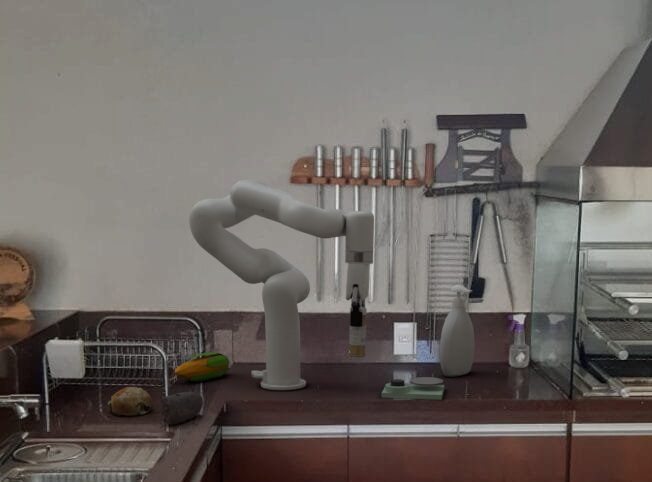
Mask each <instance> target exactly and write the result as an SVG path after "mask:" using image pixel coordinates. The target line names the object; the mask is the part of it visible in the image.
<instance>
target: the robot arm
mask: <svg viewBox="0 0 652 482" xmlns="http://www.w3.org/2000/svg"><path fill="white" fill-rule="evenodd" d="M253 216H258V217H261V218H263V219H267V220H270V221H273V222H276V223H279V224H281V225H283V226H285V227H289V228H290V229H292V230H294V231H298V232H301V233H303V234H306V235H310V236H313V237H316V238H320V239H331V238H332V239H334V238H340V237H341V238H342V237H345V245H344V246H345V247H344V248H345V249H344V250H345V251H344V254H345V255H344V257H345V258H344V262H345V264H347V269H346V270H347V271H346V287H345V300H346V301H350V307H351V312H350V311H349V327H350V326H352V327H362V315H363V312H361V310H362V307H365V308H366V299H367V298H368V296H369V288H370V287H369V286H370V265H373V264H374V247H375V246H374V243H375V239H374V238H375V215H374V214H373V212H371V211H367V210H344V209H338V208H328V209H324V208H321V207H318V206H315V205H311V204H308V203H305V202H302V201H300V200H298V199H297V198H295V195H293V194H292V193H291V192H288V191H285V190H281V189H278V188H275V187H272V186H269V185H268V184H267V183H266V182H265V181H262V180H259V179H241V180H239V181H237V182H235V183H234V184H233V185H232V187H231V189H230V192H229V194H228V195H226V196H224V197H221V198H205V199H201V200H199V201H197V202H196V203H195V204H194V205H193V206H192V208H191V210H190V212H189V220H188V221H189V222H188V223H189V229H190V233H191V234H192V236H193V238H194V240H195V241H196V243H197V244H198V245H199V246H200V248H202V249H203V250H204V251H205V252H207V253H208V254H209V255H210V256H212V257H213V258H214V259H216V260H217V261H218V262H219V263H221V264H222V265H223V266H224V267H226V269H228V270H229V271H230V272H232V273H233V274H234V275H235V276H237V277H238V278H239V279H240V280H242V281H243V282H245V283H247V284H250V285H256V284H260V283H262V284H263V285H262V290H261V297H262V298H261V299H262V305H263V311H264V320H265V323H264V328H265V329H264V330H265V369H262V370H251V375H250V376H251V378H253V379H261V382H260V387H261V388H262V389H266V390H270V391H294V390H299V389H304V388H305V387H306V386H307V381H306V380H305V379H303V378H301V321H300V314H299V313H300V312H299V307H298V305H299V304H300V303H303V302H304V301H305V300H306V299H307V298H308V297H309V295H310V291H311V284H310V281H309V279H308V277H307V276H306V274H304V273H303V272H302V271H301V270H300V269H298V268H297V266H295V265H293V264H292V263H291V262H289V261H288V260H286V259H285V258H284V257H283V256H281V255H280V254H279V253H278V252H276V251H274V250H272V249H269V248H264V247H261V248H254V247H252V246H251V245H249V244H247V243H246V242H244V241H243V240H242V239H241V238H240V237H239V236H237V235H235V234H234V233H232V232H230V231H229V230H227V229H228V228H231V227H234V226H236V225H239V224H240V223H242V222H244V221H245V220H249V218H252V217H253Z"/></svg>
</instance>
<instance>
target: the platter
mask: <svg viewBox="0 0 652 482" xmlns="http://www.w3.org/2000/svg"><path fill="white" fill-rule="evenodd" d="M410 384H415V385H421V386H435V385H444V380H443V379H442V378H438V377H431V376H422V377H421V376H420V377H414V378H413V377H412V378H411V379H410Z"/></svg>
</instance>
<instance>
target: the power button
mask: <svg viewBox="0 0 652 482" xmlns="http://www.w3.org/2000/svg"><path fill="white" fill-rule="evenodd" d="M390 383H391V386H394V387H401V386H404V383H405V380H404V379H398V378H395V379H394V378H393V379H391V380H390Z"/></svg>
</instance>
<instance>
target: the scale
mask: <svg viewBox="0 0 652 482" xmlns="http://www.w3.org/2000/svg"><path fill="white" fill-rule="evenodd" d="M444 392H445V384H441V385H435V386H421V385H415V384H412V383H407V382H404V386H401V387H394V386H391V382H388V383H385V385H384V388H383V390H382V391H381V393H380V394H381V397H380V398H382V399H383V398H384V399H409V400H413V399H415V400H436V401H437V400H438V401H439V400H440V401H441V400H442V399H443V397H444Z"/></svg>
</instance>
